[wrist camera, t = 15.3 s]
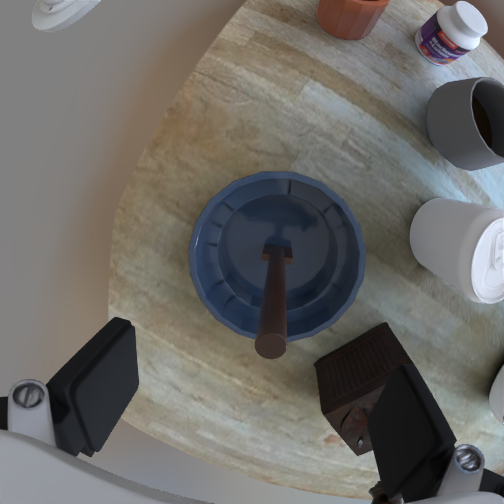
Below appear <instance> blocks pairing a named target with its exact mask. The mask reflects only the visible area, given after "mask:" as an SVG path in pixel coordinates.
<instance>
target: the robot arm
mask: <svg viewBox="0 0 504 504" xmlns="http://www.w3.org/2000/svg"><path fill="white" fill-rule="evenodd" d="M75 1H77V0H41V2H40V9H41V11H42V12H44V13H46V14H55V13H58V12H60V11H62V10H64V9H66V8H67V7H69V6H70V5H71V4H73V3H74V2H75ZM138 386H139V376H138V365H137V352H136V336H135V327H134V326H132V325H131V322H130V321H129V320H125V319H122V318H119V317H114V318H113V319H112V320H110V321H109V322H108V323H107V324H106V325H105V326H104V327H103V328H102V329H101V330H100V331H99V332H98V333H97V334H96V335H95V336H94V337H93V338H92V339H91V340H90V341H88V342H87V343H86V344H85V346H83V347H82V348H81V349H80V350H79V351H78V352H77V353H76V354H75V355H74V356H73V357H72V358H71V359H70V360H69V361H68V362H67V363H66V364H65V365H64V366H63V367H62V368H61V369H60V370H59V371H58V372H57V373H56V374H55V375H54V376H53V377H52V378H51V379H50V381H49V382H48V383H47V384H46V385H44V384H43V383H41V382H40V381H37V380H34V379H25V380H21V381H19V382H17V383H15V384H14V385H13V386H12V387H11V389H10V391H9V395H8V397H0V504H214V503H208V502H204V501H199V500H195V499H191V498H186V497H182V496H178V495H175V494H171V493H168V492H164V491H160V490H158V489H154V488H151V487H148V486H145V485H142V484H139V483H136V482H133V481H131V480H128V479H126V478H123V477H120V476H118V475H115V474H113V473H110V472H108V471H105V470H103V469H101V468H98V467H96V466H94V465H91V464H89V463H87V462H85V461H83V460H81V459H79V458H77V457H76V456H77V455H78V454H79V452H81V453H83V454H85V455H87V456H89V457H92V455H93V454H94V452H95V451H96V452H99V451H100V450H101V448H102V446H103V445H104V443H105V442H106V440H107V438H108V437H109V435H110V433H111V432H112V430H113V428H114V427H115V425H116V423H117V422H118V420H119V418H120V417H121V415H122V414H123V412H124V410H125V409H126V407H127V406H128V404H129V402H130V401H131V399H132V397H133V396H134V394H135V393H136V391H137V389H138ZM367 429H368V432H369V436H370V440H371V444H372V448H373V451H374V455H375V459H376V463H377V467H378V471H379V475H380V480H381V484H382V488H383V492H384V493H385V494H387V496H388V500H389V501H390V500H396V499H401V498H403V500H404V503H403V504H504V477H503V476H501V475H499V474H496V473H494V472H492V471H490V470H487V469H485V468H484V465H485V459H484V456H483V454H482V453H481V451H480V450H479V449H478V448H476V447H475V446H473V445H469V444H462V445H459V446H458V447H456V448H455V446H454V444H455V442H456V441H457V440H456V438H455V436H454V434H453V432H452V430H451V428H450V426H449V424H448V422H447V420H446V419H445V417H444V415H443V413H442V411H441V409H440V408H439V406H438V404H437V402H436V400H435V399H434V397H433V395H432V393H431V392H430V390H429V388H428V387H427V385H426V383H425V381H424V380H423V378H422V376H421V375H420V373H419V371H418V370H417V368H416V366H415V365H409V364H400V365H399V366H398V367H397V368H394V369H393V371H392V373H391V375H390V377H389V379H388V381H387V383H386V385H385V387H384V389H383V391H382V393H381V395H380V397H379V398H378V400H377V402H376V404H375V406H374V408H373V409H372V411H371V413H370V415H369V416H368V419H367Z"/></svg>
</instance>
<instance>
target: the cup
mask: <svg viewBox="0 0 504 504" xmlns="http://www.w3.org/2000/svg"><path fill="white" fill-rule="evenodd" d="M426 127H427V133H428V135H429V138H430V140H431V142H432V143H433V145H434V146H435V147H436V149H437V150H438V151H439V152H440V154H441V155H442V156H443V157H444V158H445V159H447V160H448V161H449V162H451V163H452V164H453V165H454V166H456V167H458V168H462V169H465V170H468V171H473V170H478V169H483V168H486V167H490V166H493V165H496V164H500V163H503V162H504V86H503V85H502V84H501V83H500V82H498V81H497V80H495V79H493V78H489V77H479V78H472V79H465V80H459V81H453V82H448V83H445V84H444V85H442V86H440V87H439V88H437V89H436V90H435V91H434V93H433V95H432V96H431V98H430V100H429V102H428V109H427V115H426Z"/></svg>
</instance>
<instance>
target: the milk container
mask: <svg viewBox="0 0 504 504" xmlns="http://www.w3.org/2000/svg"><path fill="white" fill-rule="evenodd" d="M489 403H490V407H491V409H492V412H493V414H494V416H495V417H496V419H497V420H498V421H499V422H501V423H502V424H503V425H504V363H503V364H502V366H501V367H500V369H499V371H498V373H497V375H496V377H495V379H494V381H493V383H492V386H491V389H490V393H489Z"/></svg>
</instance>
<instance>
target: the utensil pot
mask: <svg viewBox="0 0 504 504" xmlns="http://www.w3.org/2000/svg"><path fill="white" fill-rule="evenodd" d="M389 1H390V0H317V4H316V18H317V21H318V22H319V24H320V25H321V26H322V28H323V29H325V30H326V31H327V32H328V33H330V34H332V35H334V36H336V37H338V38H342V39H346V40H358V39H362V38H364V37H366V36H367V35H368V34H369V33H370V32H371V30H372V29H373V27H374V26H375V24H376V22H377V21H378V19H379V17H380V16H381V14H382V13H383V11H384V9H385V8H386V6H387V5H388V3H389Z"/></svg>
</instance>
